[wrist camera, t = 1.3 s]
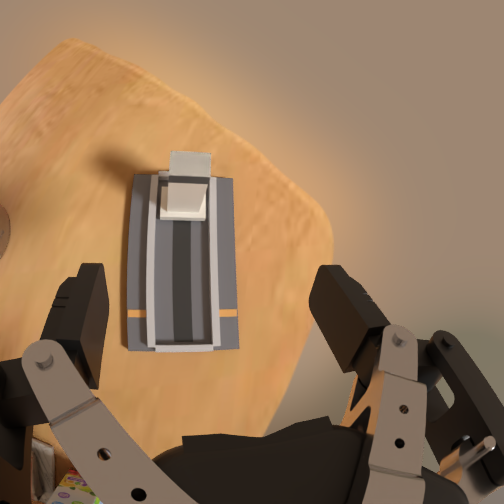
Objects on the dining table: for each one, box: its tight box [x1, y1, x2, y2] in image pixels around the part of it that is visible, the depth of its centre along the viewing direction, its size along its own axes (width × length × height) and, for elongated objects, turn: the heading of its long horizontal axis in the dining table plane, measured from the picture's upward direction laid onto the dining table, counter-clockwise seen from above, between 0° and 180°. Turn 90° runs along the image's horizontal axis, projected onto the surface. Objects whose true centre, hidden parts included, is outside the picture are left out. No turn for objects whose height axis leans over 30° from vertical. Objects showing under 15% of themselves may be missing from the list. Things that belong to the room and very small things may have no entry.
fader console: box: [127, 171, 239, 352], centre depth 33 cm, size 12×20×2 cm, turn 3°
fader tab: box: [160, 151, 211, 221], centre depth 29 cm, size 5×4×10 cm
